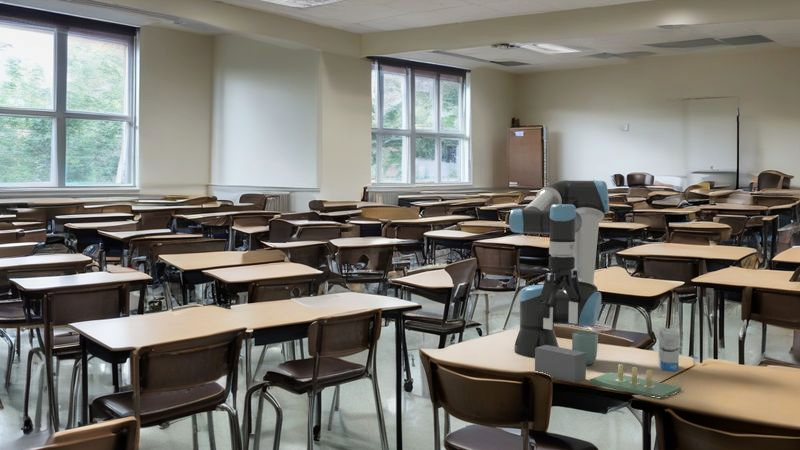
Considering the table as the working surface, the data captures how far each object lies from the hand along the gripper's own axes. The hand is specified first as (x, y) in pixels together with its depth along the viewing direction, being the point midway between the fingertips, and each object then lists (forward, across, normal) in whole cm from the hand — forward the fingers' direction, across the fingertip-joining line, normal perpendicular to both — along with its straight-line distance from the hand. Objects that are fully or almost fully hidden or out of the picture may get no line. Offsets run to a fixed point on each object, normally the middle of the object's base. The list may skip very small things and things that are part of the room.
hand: (560, 326), depth 214 cm
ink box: (+15, +34, -18) cm, 42 cm away
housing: (+15, 0, 0) cm, 15 cm away
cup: (+15, +19, +3) cm, 25 cm away
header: (+15, +6, -21) cm, 27 cm away
